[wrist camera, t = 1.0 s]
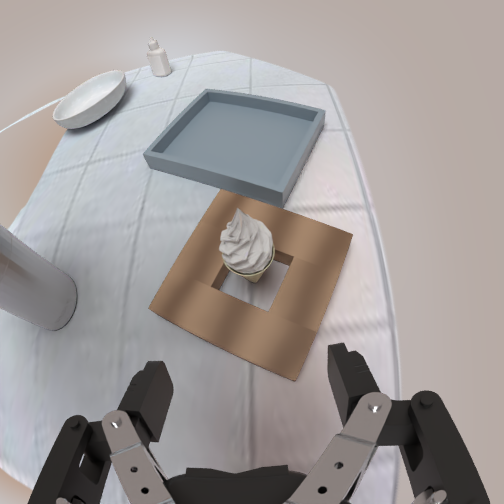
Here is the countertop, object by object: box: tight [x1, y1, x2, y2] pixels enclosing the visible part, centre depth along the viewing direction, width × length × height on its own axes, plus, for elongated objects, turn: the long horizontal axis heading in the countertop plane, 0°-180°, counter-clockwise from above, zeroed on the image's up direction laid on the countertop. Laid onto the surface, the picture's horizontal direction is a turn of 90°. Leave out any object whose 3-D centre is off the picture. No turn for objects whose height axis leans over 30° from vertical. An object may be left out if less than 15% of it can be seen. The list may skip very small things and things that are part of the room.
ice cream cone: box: [219, 208, 275, 283], centre depth 28 cm, size 5×5×15 cm
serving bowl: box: [53, 70, 126, 129], centre depth 55 cm, size 21×21×7 cm
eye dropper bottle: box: [147, 37, 171, 77], centre depth 57 cm, size 4×6×12 cm
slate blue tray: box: [143, 89, 325, 209], centre depth 44 cm, size 24×20×4 cm
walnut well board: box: [148, 189, 353, 381], centre depth 33 cm, size 18×18×3 cm
